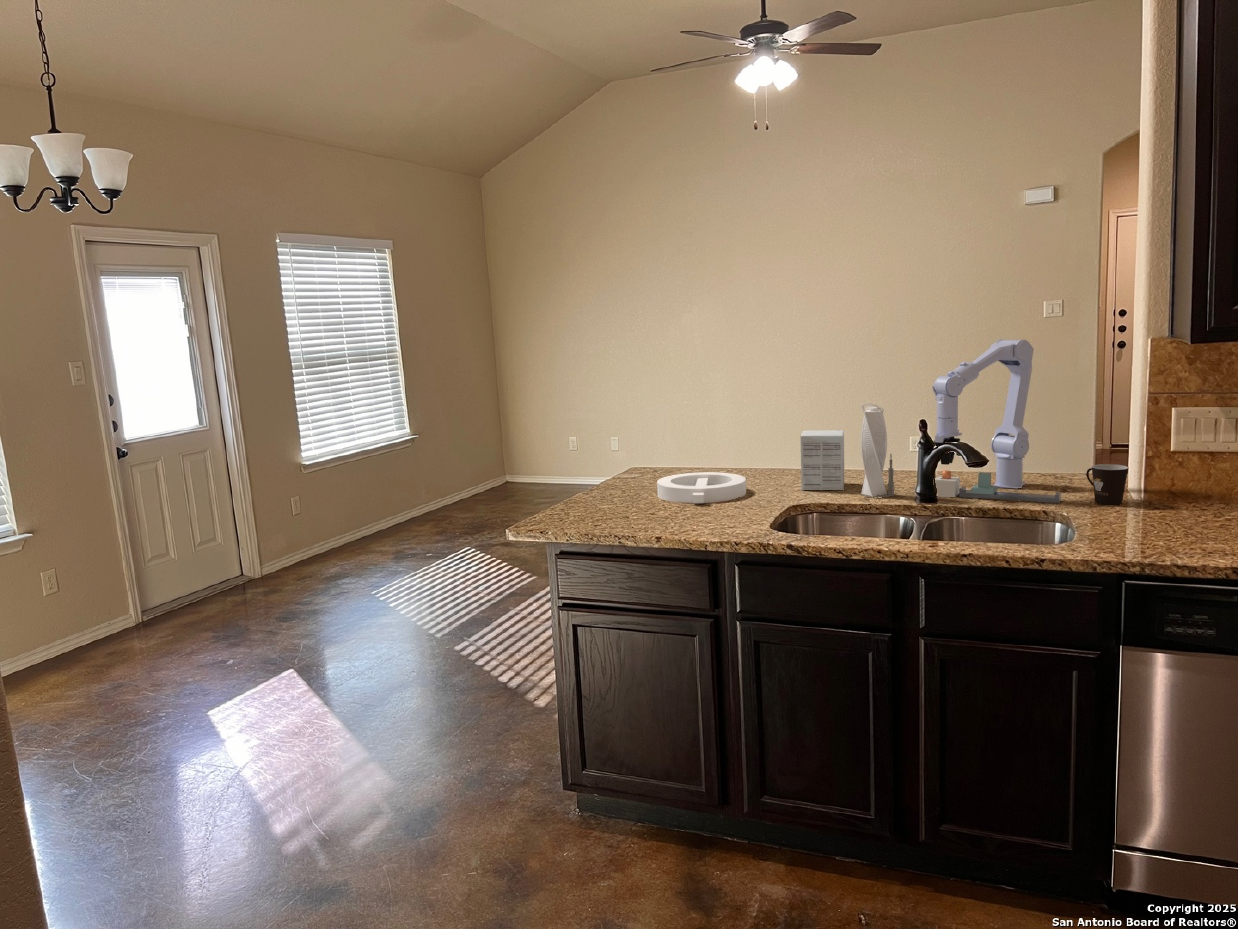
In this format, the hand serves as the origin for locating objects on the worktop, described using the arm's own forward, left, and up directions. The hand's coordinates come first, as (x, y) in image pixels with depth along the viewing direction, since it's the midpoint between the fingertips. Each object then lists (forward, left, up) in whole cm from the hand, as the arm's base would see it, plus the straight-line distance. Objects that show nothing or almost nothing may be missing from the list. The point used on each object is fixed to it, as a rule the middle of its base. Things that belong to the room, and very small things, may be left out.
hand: (946, 463), depth 255 cm
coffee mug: (-4, +41, -10) cm, 42 cm away
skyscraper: (+7, -19, -10) cm, 22 cm away
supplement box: (-1, -38, -10) cm, 39 cm away
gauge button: (0, 0, -4) cm, 4 cm away
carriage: (0, +10, -8) cm, 13 cm away
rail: (0, +17, -9) cm, 19 cm away
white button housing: (0, 0, -9) cm, 9 cm away
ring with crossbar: (+21, -70, -10) cm, 74 cm away
